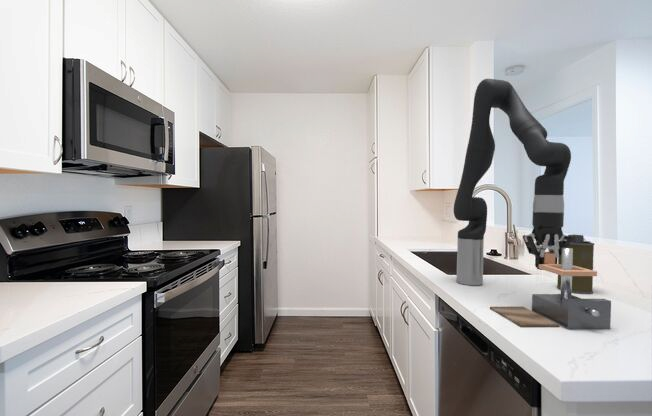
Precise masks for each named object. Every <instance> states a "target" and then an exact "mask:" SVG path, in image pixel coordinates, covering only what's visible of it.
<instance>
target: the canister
mask: <svg viewBox="0 0 652 416" xmlns="http://www.w3.org/2000/svg"><path fill="white" fill-rule="evenodd" d="M567 236H571V237H572V240H571V242H570V244H569V246H568V248H572V249H573V262H572V265H573V266H577V267H581V268H585V269H589V270H593V271H594V249H595V247H594V246H595V243H593V242H591V241H588V240H586V239H585V238H584V235H583V234H567ZM559 241H560V240H559ZM559 241H558V242H559ZM561 259H562V255H560V256H559V257H558V258H557V264H561ZM593 281H594V276H572V294H578V295H579V294H582V295H591V294H593V293H594V291H593V287H594V286H593ZM556 285H557V286H556V288H557V289H558V290H560V291H561V275H558V274H557V284H556Z"/></svg>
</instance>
